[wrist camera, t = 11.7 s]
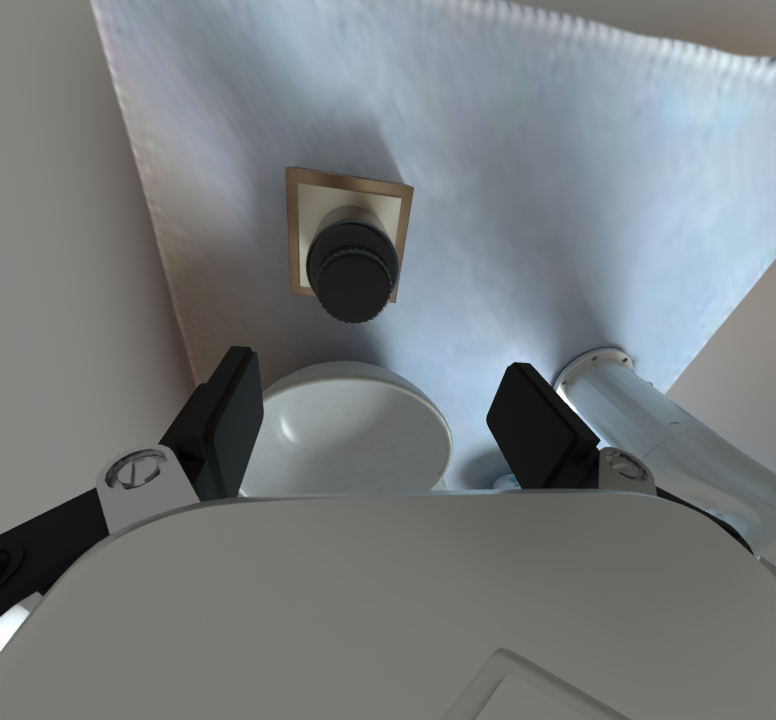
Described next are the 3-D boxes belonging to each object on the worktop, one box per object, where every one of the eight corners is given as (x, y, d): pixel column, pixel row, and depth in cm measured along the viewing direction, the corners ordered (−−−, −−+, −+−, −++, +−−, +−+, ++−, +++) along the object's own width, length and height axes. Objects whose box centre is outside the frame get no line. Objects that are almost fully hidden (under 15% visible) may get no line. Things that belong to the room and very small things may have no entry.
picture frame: (404, 184, 31) (414, 187, 26) (389, 287, 36) (395, 303, 32) (294, 167, 29) (285, 167, 24) (297, 278, 35) (290, 294, 30)
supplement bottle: (303, 215, 27) (278, 246, 17) (377, 195, 26) (397, 214, 16) (329, 287, 30) (321, 347, 20) (393, 270, 30) (417, 322, 20)
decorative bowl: (405, 461, 55) (418, 527, 45) (252, 453, 50) (228, 527, 40) (453, 337, 42) (488, 392, 32) (249, 306, 36) (212, 361, 26)
